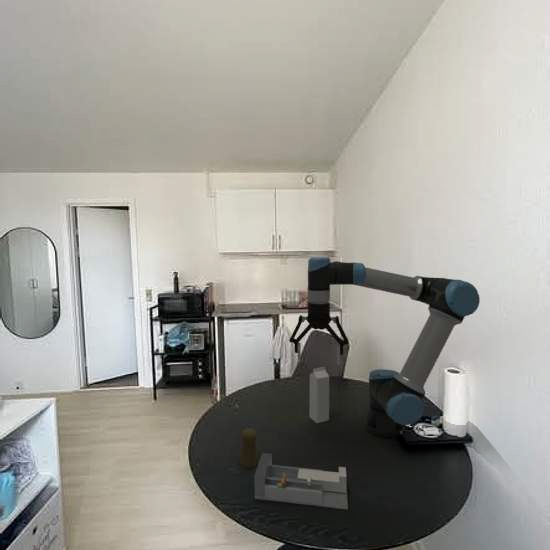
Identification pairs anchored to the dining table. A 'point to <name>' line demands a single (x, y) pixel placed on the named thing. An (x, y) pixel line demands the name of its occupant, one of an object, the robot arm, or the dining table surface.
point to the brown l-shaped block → (283, 480)
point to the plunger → (325, 479)
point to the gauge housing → (292, 487)
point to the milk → (319, 395)
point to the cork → (249, 449)
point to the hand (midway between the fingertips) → (318, 363)
